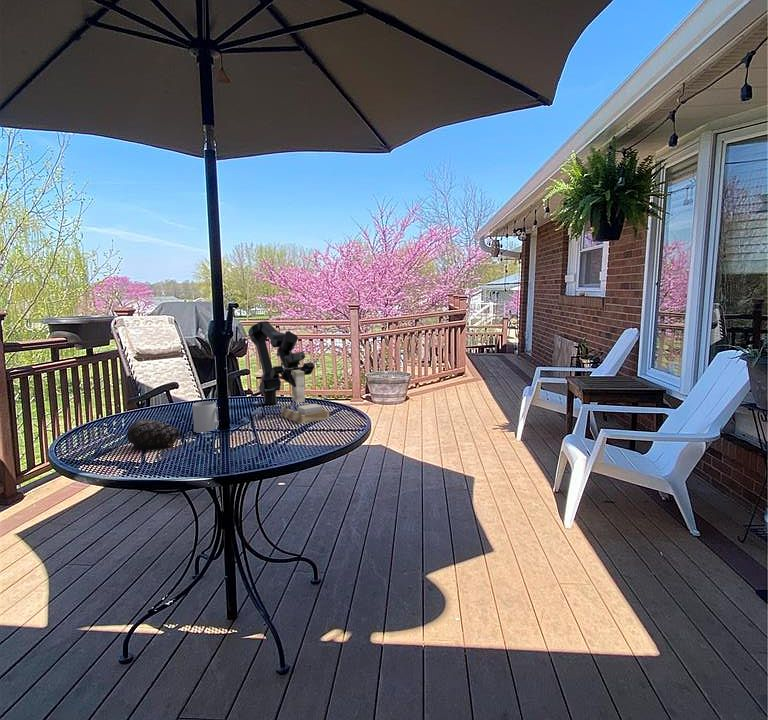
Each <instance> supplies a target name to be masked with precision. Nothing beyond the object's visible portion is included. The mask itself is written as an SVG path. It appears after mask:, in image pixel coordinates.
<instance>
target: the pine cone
mask: <svg viewBox="0 0 768 720" xmlns="http://www.w3.org/2000/svg"><path fill="white" fill-rule="evenodd" d="M180 436H181V433H180V429H178V428H175V427H174V426H172V425H171V424H170V423H163V422H161V421H157V420H155V419H148V418H141V419H138V420H136V421H134V422H132V424H130V426H129V427H128V428H127V432H126V438H127V441H128V442H129V443H131V444H132V445H133V446H132V447H131V450H136V451H144V450H145V451H152V450H153V451H154V450H172V449H174V448H173V446H174V445H173V444H175V443H176V442H177V439H179V438H180Z"/></svg>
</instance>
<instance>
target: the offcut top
mask: <svg viewBox="0 0 768 720" xmlns="http://www.w3.org/2000/svg"><path fill="white" fill-rule="evenodd" d="M309 404H310V405H305V404H304V405H300V406H297V411H298V413H300V414H303V415H306V414H312V413H317V412H322V409H323V405H320V404H317V403H309Z"/></svg>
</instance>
